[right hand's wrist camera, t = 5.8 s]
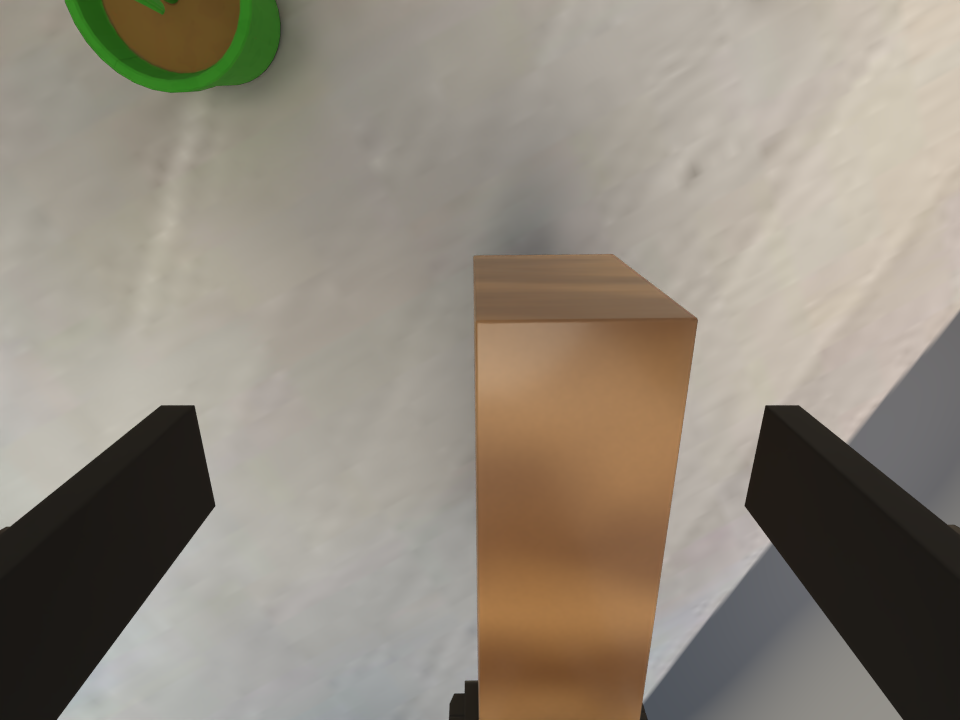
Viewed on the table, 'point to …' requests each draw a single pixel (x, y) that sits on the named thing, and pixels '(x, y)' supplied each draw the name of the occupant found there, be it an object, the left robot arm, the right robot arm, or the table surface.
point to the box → (572, 479)
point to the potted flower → (181, 40)
